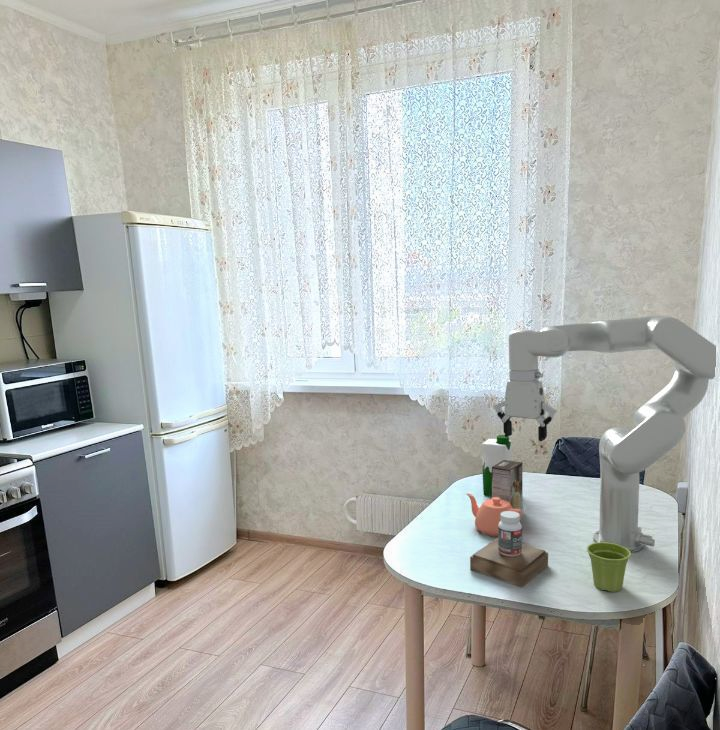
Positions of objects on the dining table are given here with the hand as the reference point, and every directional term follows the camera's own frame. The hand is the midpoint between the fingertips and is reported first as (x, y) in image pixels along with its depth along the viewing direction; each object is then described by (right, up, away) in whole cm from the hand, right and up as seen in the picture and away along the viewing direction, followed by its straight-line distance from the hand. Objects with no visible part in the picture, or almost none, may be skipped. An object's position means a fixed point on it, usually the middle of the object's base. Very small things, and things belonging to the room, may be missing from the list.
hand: (524, 437), depth 159 cm
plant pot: (+13, -32, -23) cm, 41 cm away
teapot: (-6, -28, +11) cm, 31 cm away
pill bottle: (-7, -27, -13) cm, 31 cm away
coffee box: (+1, -27, +21) cm, 34 cm away
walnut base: (-7, -31, -13) cm, 34 cm away
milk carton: (+2, -24, +40) cm, 47 cm away
